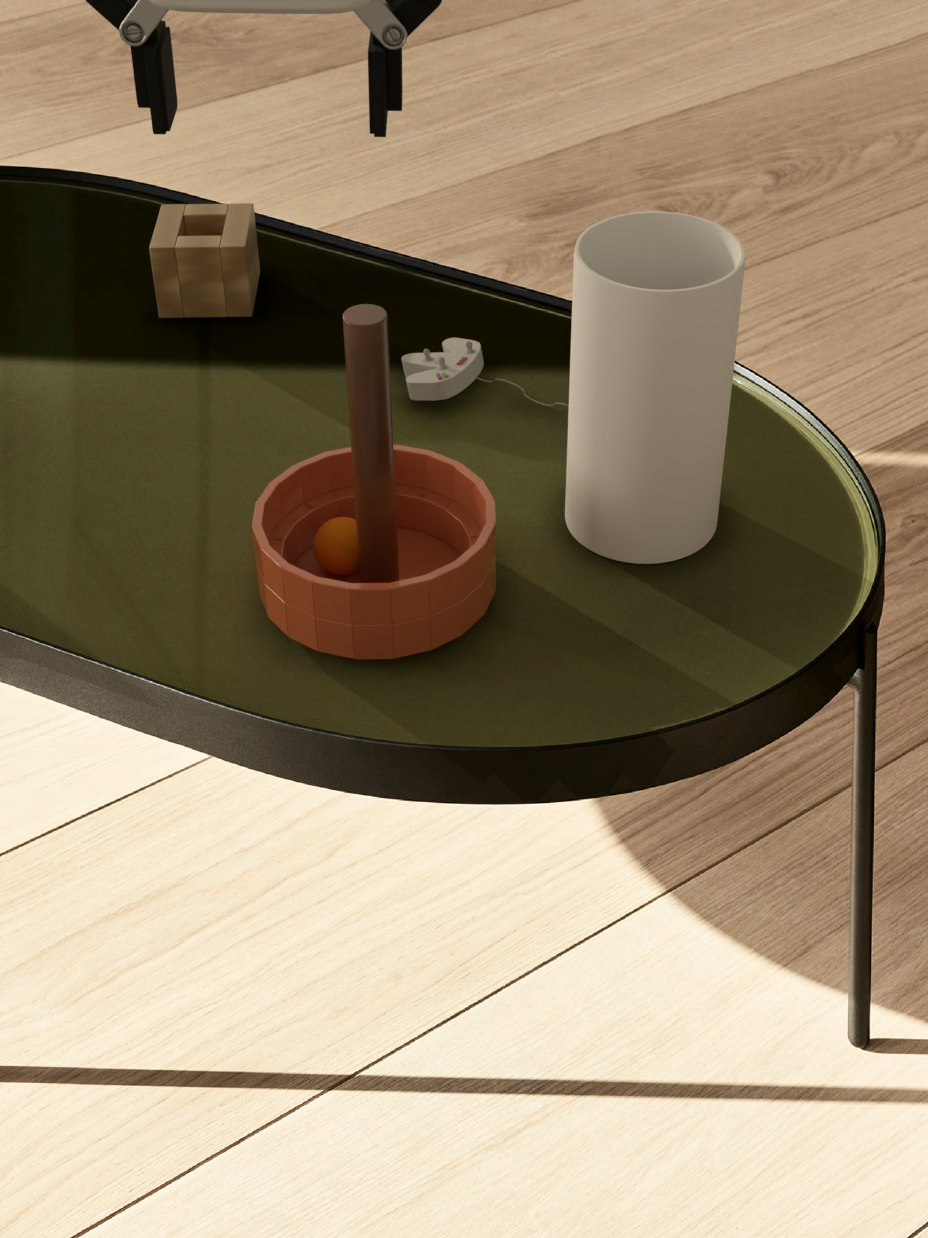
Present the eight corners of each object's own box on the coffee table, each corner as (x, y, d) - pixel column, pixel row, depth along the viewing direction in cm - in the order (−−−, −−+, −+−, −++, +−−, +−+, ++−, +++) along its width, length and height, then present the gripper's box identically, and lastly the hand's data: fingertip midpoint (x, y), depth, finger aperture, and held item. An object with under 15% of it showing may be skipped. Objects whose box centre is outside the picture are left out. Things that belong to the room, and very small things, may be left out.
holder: (159, 318, 108) (148, 247, 105) (170, 272, 112) (161, 203, 109) (252, 317, 108) (245, 246, 105) (260, 271, 112) (253, 202, 109)
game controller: (408, 355, 104) (407, 318, 102) (594, 371, 103) (596, 333, 101) (391, 405, 100) (390, 367, 98) (584, 422, 98) (586, 383, 97)
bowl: (251, 670, 82) (241, 590, 79) (271, 522, 91) (263, 445, 88) (498, 667, 82) (498, 587, 79) (493, 519, 91) (493, 442, 88)
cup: (746, 511, 91) (778, 243, 81) (659, 584, 86) (681, 309, 76) (624, 456, 95) (640, 195, 85) (534, 523, 91) (539, 255, 80)
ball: (309, 568, 87) (302, 562, 84) (326, 513, 87) (320, 505, 84) (364, 585, 87) (359, 579, 84) (381, 530, 87) (377, 522, 84)
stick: (358, 603, 85) (339, 325, 74) (362, 578, 86) (345, 302, 76) (397, 605, 85) (384, 326, 74) (401, 580, 86) (389, 303, 76)
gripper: (-1, -281, 62) (65, 157, 73) (470, -274, 62) (464, 162, 73) (39, -326, 67) (94, 86, 78) (470, -320, 68) (464, 91, 79)
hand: (272, 122), depth 76 cm, fingers open, 9 cm apart
